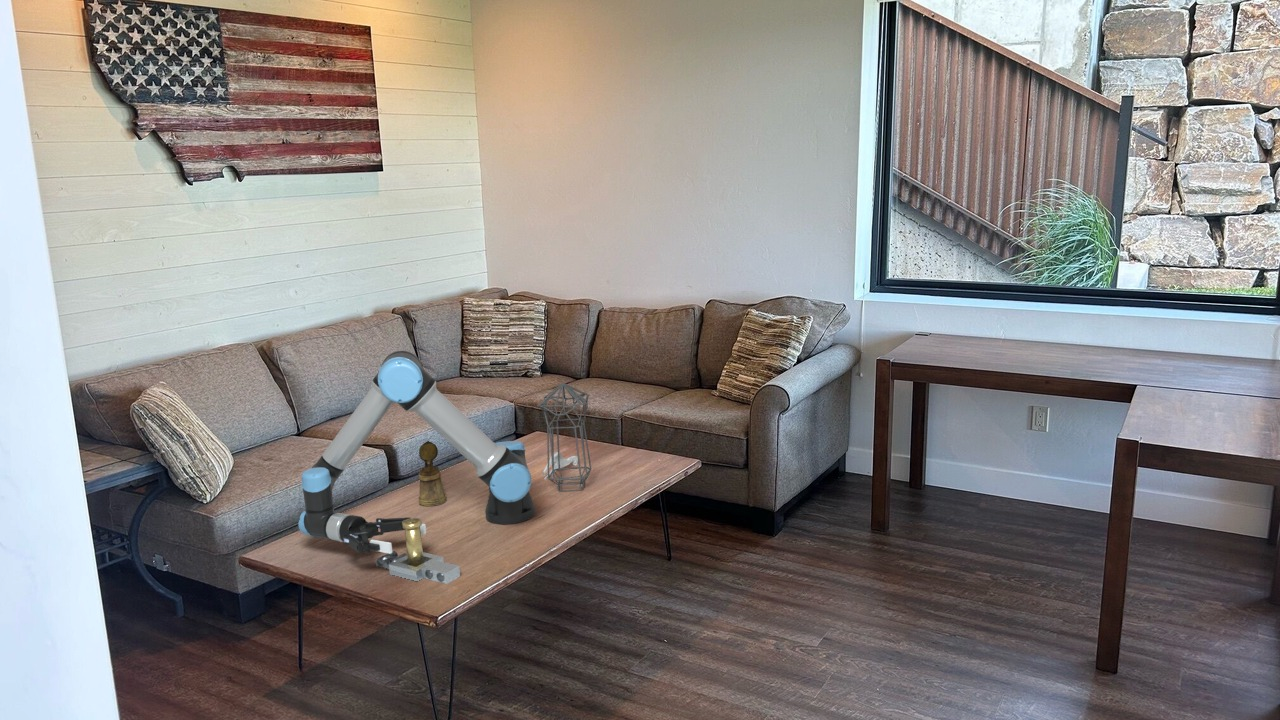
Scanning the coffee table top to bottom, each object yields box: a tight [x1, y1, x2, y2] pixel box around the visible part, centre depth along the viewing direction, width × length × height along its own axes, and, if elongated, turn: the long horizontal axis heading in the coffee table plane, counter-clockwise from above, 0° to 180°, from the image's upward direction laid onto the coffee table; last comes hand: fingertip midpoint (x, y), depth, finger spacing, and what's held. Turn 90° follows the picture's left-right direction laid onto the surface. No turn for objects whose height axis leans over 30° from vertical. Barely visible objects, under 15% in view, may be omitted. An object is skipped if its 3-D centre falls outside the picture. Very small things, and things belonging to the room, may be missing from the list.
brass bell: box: [418, 440, 448, 507], centre depth 300 cm, size 9×14×18 cm, turn 11°
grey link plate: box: [374, 550, 461, 585], centre depth 247 cm, size 26×10×3 cm, turn 58°
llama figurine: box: [541, 451, 578, 480], centre depth 323 cm, size 2×11×18 cm
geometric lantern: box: [537, 382, 592, 492], centre depth 304 cm, size 16×16×35 cm
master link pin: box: [402, 517, 424, 567], centre depth 246 cm, size 5×5×14 cm
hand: (408, 538), depth 245 cm, fingers open, 13 cm apart
